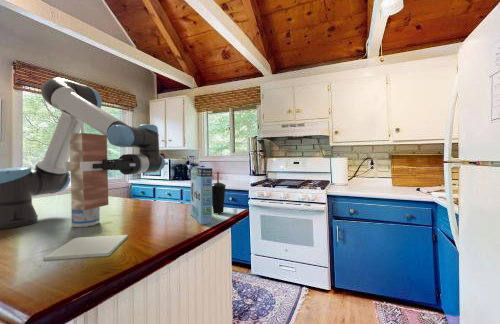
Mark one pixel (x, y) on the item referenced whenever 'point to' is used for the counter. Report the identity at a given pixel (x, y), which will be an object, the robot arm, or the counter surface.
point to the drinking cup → (218, 196)
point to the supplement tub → (85, 217)
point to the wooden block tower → (88, 182)
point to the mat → (87, 247)
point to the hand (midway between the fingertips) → (73, 166)
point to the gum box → (201, 194)
